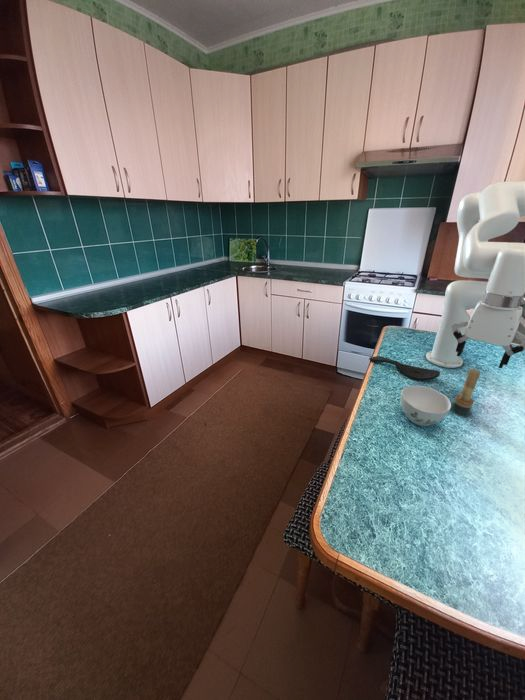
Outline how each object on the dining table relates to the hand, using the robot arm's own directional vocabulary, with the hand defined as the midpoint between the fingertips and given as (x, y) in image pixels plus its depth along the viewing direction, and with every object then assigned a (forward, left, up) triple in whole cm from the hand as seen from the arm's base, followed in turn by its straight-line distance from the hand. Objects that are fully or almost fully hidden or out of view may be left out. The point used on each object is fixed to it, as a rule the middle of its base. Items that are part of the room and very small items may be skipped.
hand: (479, 360), depth 79 cm
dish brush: (0, 0, -18) cm, 18 cm away
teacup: (+8, -11, -18) cm, 22 cm away
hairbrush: (-19, -17, -18) cm, 31 cm away
